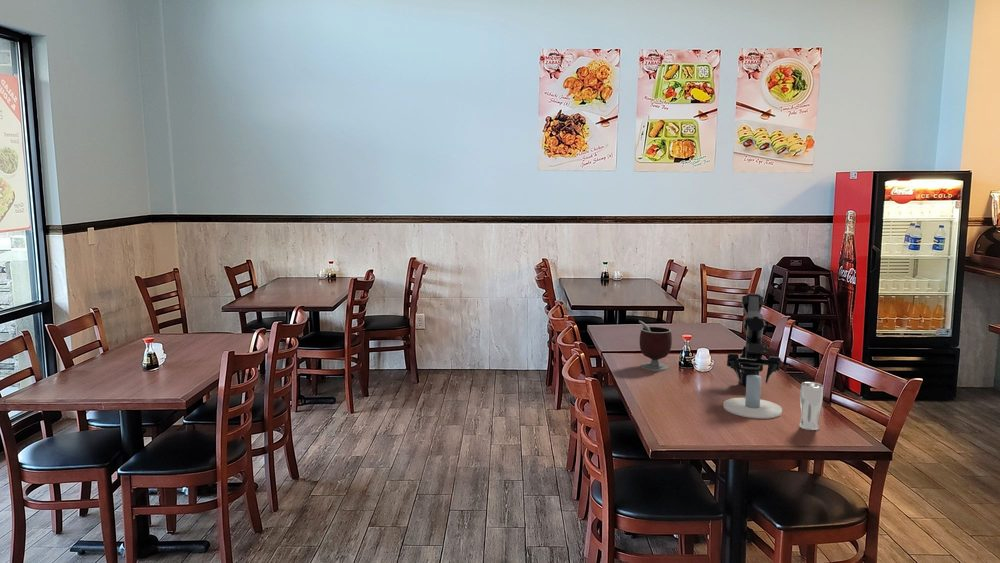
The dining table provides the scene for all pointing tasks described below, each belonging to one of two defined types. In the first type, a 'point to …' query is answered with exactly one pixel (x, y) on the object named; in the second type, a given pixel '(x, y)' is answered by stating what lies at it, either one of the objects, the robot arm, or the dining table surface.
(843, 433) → the dining table surface
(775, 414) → the plate
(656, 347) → the mate gourd
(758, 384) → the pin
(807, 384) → the beer glass
